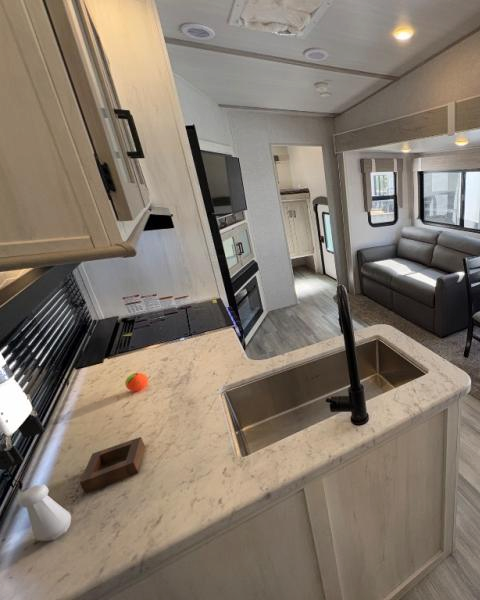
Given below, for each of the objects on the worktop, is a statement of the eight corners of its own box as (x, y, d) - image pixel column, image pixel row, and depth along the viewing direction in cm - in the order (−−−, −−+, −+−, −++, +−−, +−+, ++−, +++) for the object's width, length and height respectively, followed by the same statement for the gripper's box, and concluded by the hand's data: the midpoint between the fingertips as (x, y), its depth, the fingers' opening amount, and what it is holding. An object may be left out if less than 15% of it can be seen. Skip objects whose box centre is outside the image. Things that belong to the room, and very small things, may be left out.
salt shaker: (78, 526, 71) (53, 486, 67) (43, 551, 67) (13, 509, 62) (70, 514, 74) (45, 475, 70) (35, 537, 69) (7, 496, 65)
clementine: (139, 396, 118) (132, 380, 116) (121, 396, 119) (114, 381, 116) (155, 383, 126) (149, 368, 123) (138, 384, 126) (132, 369, 124)
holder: (85, 493, 79) (79, 482, 78) (98, 464, 88) (92, 453, 87) (138, 473, 84) (133, 462, 83) (145, 446, 93) (140, 436, 92)
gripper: (-21, 366, 64) (19, 431, 70) (-86, 413, 50) (-28, 490, 56) (30, 355, 67) (64, 417, 73) (-17, 396, 53) (30, 469, 59)
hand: (24, 449), depth 64 cm, fingers open, 9 cm apart
